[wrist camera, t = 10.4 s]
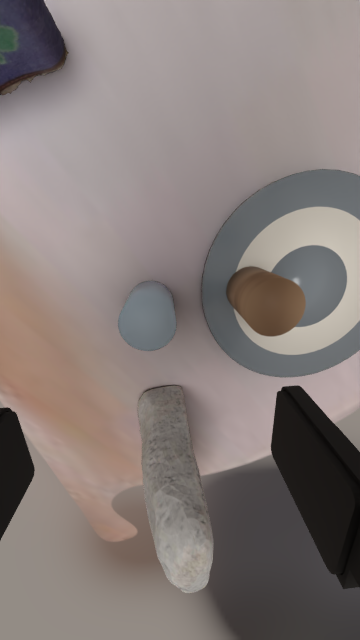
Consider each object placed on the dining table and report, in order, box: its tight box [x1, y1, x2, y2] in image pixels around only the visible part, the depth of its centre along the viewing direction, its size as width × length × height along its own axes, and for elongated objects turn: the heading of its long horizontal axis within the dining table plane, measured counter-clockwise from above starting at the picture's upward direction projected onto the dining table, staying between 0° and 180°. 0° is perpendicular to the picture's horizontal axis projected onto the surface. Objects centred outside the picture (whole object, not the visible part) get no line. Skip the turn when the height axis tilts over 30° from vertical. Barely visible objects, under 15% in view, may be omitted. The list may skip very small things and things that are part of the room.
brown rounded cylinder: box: [226, 266, 306, 337], centre depth 21 cm, size 4×4×6 cm
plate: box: [201, 169, 360, 377], centre depth 24 cm, size 20×20×1 cm
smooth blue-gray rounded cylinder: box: [118, 281, 176, 351], centre depth 22 cm, size 4×4×6 cm
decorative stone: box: [138, 386, 213, 593], centre depth 23 cm, size 11×6×15 cm, turn 8°
